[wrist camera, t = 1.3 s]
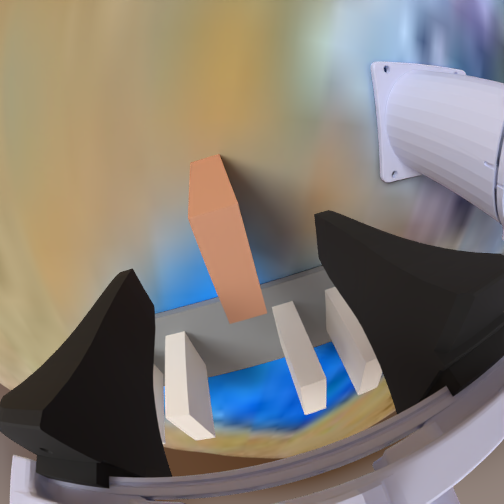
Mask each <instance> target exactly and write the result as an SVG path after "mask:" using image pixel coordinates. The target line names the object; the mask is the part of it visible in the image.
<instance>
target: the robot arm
mask: <svg viewBox="0 0 504 504" xmlns="http://www.w3.org/2000/svg"><path fill="white" fill-rule="evenodd" d="M384 66H385V67H386V69H387V70H386V73H385V72H384ZM371 75H372V82H373V89H374V97H375V105H376V115H377V126H378V139H379V157H380V177H381V179H382V180H383V181H385V182H393V181H397V180H401V179H406V178H410V177H414V176H419V175H425V176H427V177H429V178H431V179H432V180H434V181H436V182H438V183H439V184H441V185H443V186H444V187H446V188H448V189H450V190H451V191H453V192H454V193H456V194H458V195H459V196H461V197H462V198H464V199H466V200H467V201H469V202H470V203H472V204H473V205H475V206H476V207H478V208H479V209H481V210H482V211H484V212H485V213H486V214H488V215H489V216H491V217H492V218H494V219H495V220H496V221H498V222H499V223H500V224H502V226H503V235H502V239H503V240H504V83H500V82H496V81H491V80H487V79H482V78H477V77H472V76H466V73H465V72H464V71H463V70H458V69H452V68H446V67H439V66H432V65H423V64H413V63H399V62H373V63H372V64H371ZM393 171H394V174H393V176H392V173H393ZM314 216H315V225H316V235H317V245H318V255H319V259H320V261H321V263H322V265H323V267H324V269H325V271H326V273H327V275H328V277H329V278H330V280H331V281H332V283H333V284H334V286H335V287H336V289H337V290H338V291H339V293H340V294H341V296H342V297H343V299H344V300H345V302H346V303H347V305H348V306H349V308H350V309H351V310H352V312H353V313H354V315H355V316H356V318H357V320H358V321H359V323H360V325H361V326H362V328H363V330H364V332H365V334H366V336H367V338H368V340H369V342H370V344H371V347H372V349H373V351H374V353H375V355H376V358H377V360H378V362H379V364H380V367H381V369H382V372H383V374H384V377H385V379H386V382H387V385H388V387H389V390H390V393H391V396H392V399H393V402H394V405H395V408H396V412H397V415H395V416H394V417H392V418H390V419H388V420H386V421H384V422H382V423H379V424H377V425H375V426H373V427H371V428H369V429H366V430H364V431H362V432H360V433H357V434H355V435H352V436H350V437H348V438H345V439H343V440H340V441H337V442H335V443H332V444H329V445H326V446H324V447H321V448H318V449H315V450H312V451H309V452H306V453H302V454H299V455H296V456H292V457H289V458H285V459H281V460H278V461H274V462H270V463H265V464H261V465H256V466H252V467H247V468H242V469H237V470H230V471H224V472H218V473H210V474H202V475H191V476H178V477H172V475H171V471H170V468H169V465H168V462H167V459H166V455H165V452H164V448H163V444H162V439H161V435H160V430H159V425H158V419H157V413H156V406H155V397H154V388H153V367H154V347H155V330H156V326H155V311H154V305H153V303H152V301H151V300H150V298H149V296H148V295H147V293H146V291H145V290H144V288H143V286H142V284H141V283H140V281H139V279H138V277H137V276H136V274H135V272H134V270H133V269H129V270H126V271H123V272H120V273H119V274H118V275H117V276H116V277H115V278H114V279H113V280H112V282H111V283H110V284H109V285H108V287H107V288H106V289H105V291H104V292H103V293H102V295H101V296H100V297H99V299H98V300H97V301H96V303H95V304H94V305H93V307H92V308H91V310H90V311H89V312H88V313H87V315H86V316H85V317H84V319H83V320H82V321H81V323H80V324H79V325H78V327H77V328H76V329H75V330H74V331H73V333H72V334H71V335H70V336H69V337H68V339H67V340H66V341H65V342H64V343H63V344H62V345H61V347H60V348H59V349H58V350H57V351H56V352H55V353H54V354H53V355H52V356H51V357H50V358H49V359H48V360H47V361H46V362H45V363H44V364H43V365H42V366H41V367H40V368H39V369H37V370H36V371H35V372H34V373H33V374H32V375H31V376H29V377H28V378H27V379H26V380H25V381H23V382H22V383H21V384H20V385H18V386H17V387H16V388H14V389H13V390H11V391H10V392H9V393H8V394H6V395H5V396H3V398H2V399H1V402H0V431H1V432H2V433H3V434H4V435H5V436H7V437H8V438H9V439H11V440H13V441H14V442H16V443H17V444H19V445H21V446H22V447H24V448H26V449H27V450H29V451H31V452H33V453H34V454H36V455H37V461H34V460H32V459H29V458H25V457H21V456H18V455H13V461H12V470H11V485H10V504H185V503H181V502H161V501H155V500H153V499H192V498H206V497H216V496H224V495H232V494H239V493H244V492H250V491H256V490H261V489H265V488H270V487H275V486H279V485H283V484H287V483H291V482H295V481H298V480H301V479H305V478H308V477H311V476H315V475H318V474H321V473H324V472H327V471H329V470H333V469H335V468H338V467H340V466H343V465H346V464H348V463H351V462H353V461H356V460H358V459H360V458H363V457H365V456H367V455H370V454H372V453H374V452H376V451H378V450H380V449H383V448H385V447H386V446H389V445H390V444H393V443H395V442H396V441H398V440H400V439H402V438H404V437H406V436H408V435H409V434H411V433H413V432H414V433H413V434H411V435H410V436H408V437H407V438H405V439H404V440H402V441H400V442H399V443H397V444H395V445H394V446H392V447H390V448H389V449H387V450H385V452H384V455H383V456H382V457H381V458H379V459H378V460H377V461H375V462H374V463H373V468H374V470H375V471H374V472H372V473H369V474H367V475H365V476H362V477H359V478H357V479H354V480H352V481H349V482H346V483H344V484H341V485H338V486H335V487H332V488H330V489H326V490H323V491H320V492H317V493H313V494H310V495H306V496H303V497H299V498H295V499H291V500H287V501H283V502H278V503H274V504H460V502H459V500H458V498H457V495H456V493H455V491H454V489H453V486H454V485H455V484H457V483H458V482H459V481H460V480H462V479H463V478H464V477H465V476H466V475H467V474H468V473H470V472H471V471H472V470H473V469H474V468H475V467H476V466H477V465H479V464H480V463H481V462H482V461H483V460H484V459H485V458H486V457H487V456H488V455H489V454H490V453H491V452H492V451H493V450H494V449H495V448H496V447H497V446H498V445H499V444H500V443H501V441H502V440H503V439H504V255H502V254H493V253H474V252H466V251H457V250H451V249H445V248H440V247H435V246H431V245H426V244H422V243H418V242H415V241H411V240H408V239H404V238H401V237H398V236H395V235H392V234H389V233H387V232H384V231H381V230H378V229H376V228H373V227H371V226H368V225H366V224H363V223H361V222H358V221H356V220H354V219H351V218H349V217H346V216H344V215H341V214H339V213H336V212H333V211H330V210H328V211H324V212H321V213H317V214H314ZM418 429H419V430H418ZM416 430H417V431H416ZM415 431H416V432H415Z"/></svg>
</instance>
